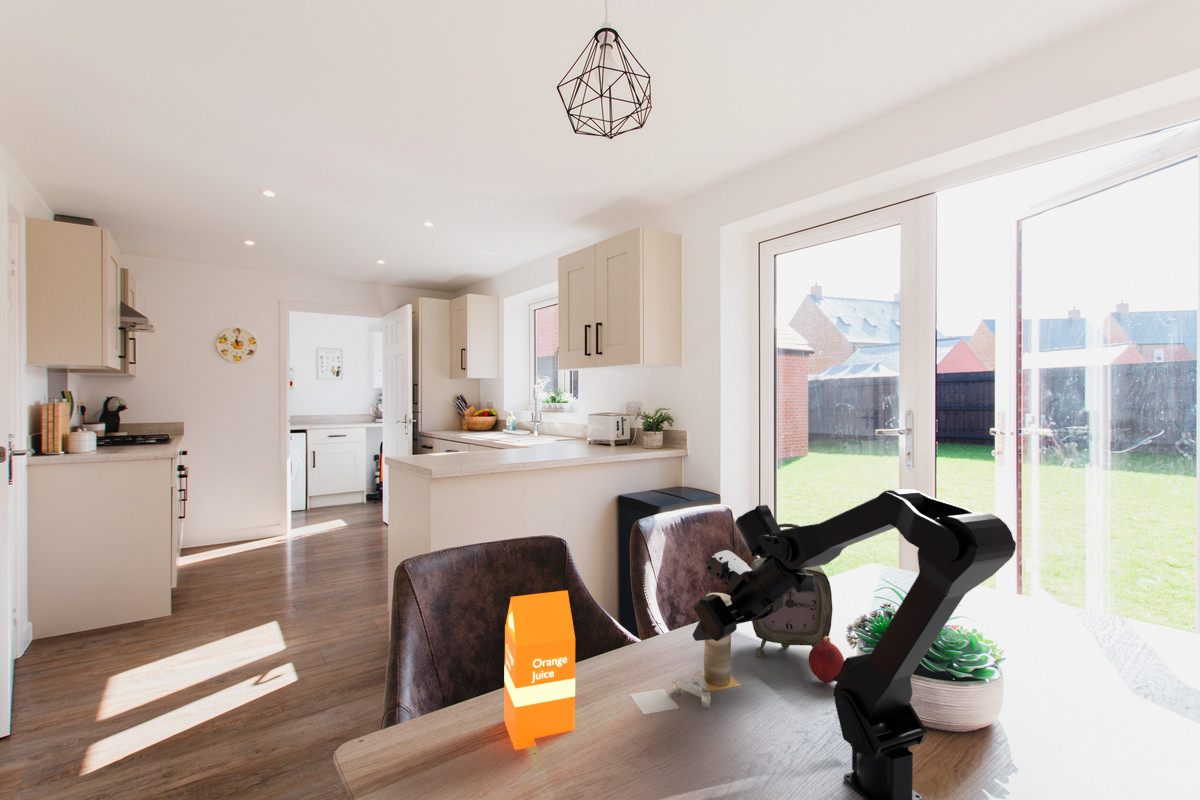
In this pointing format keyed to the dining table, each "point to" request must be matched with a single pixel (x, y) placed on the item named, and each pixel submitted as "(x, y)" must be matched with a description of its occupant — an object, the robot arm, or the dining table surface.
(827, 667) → the onion
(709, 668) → the peg
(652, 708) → the board
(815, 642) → the tabletop clock
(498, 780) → the dining table surface
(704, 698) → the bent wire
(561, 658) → the orange juice
